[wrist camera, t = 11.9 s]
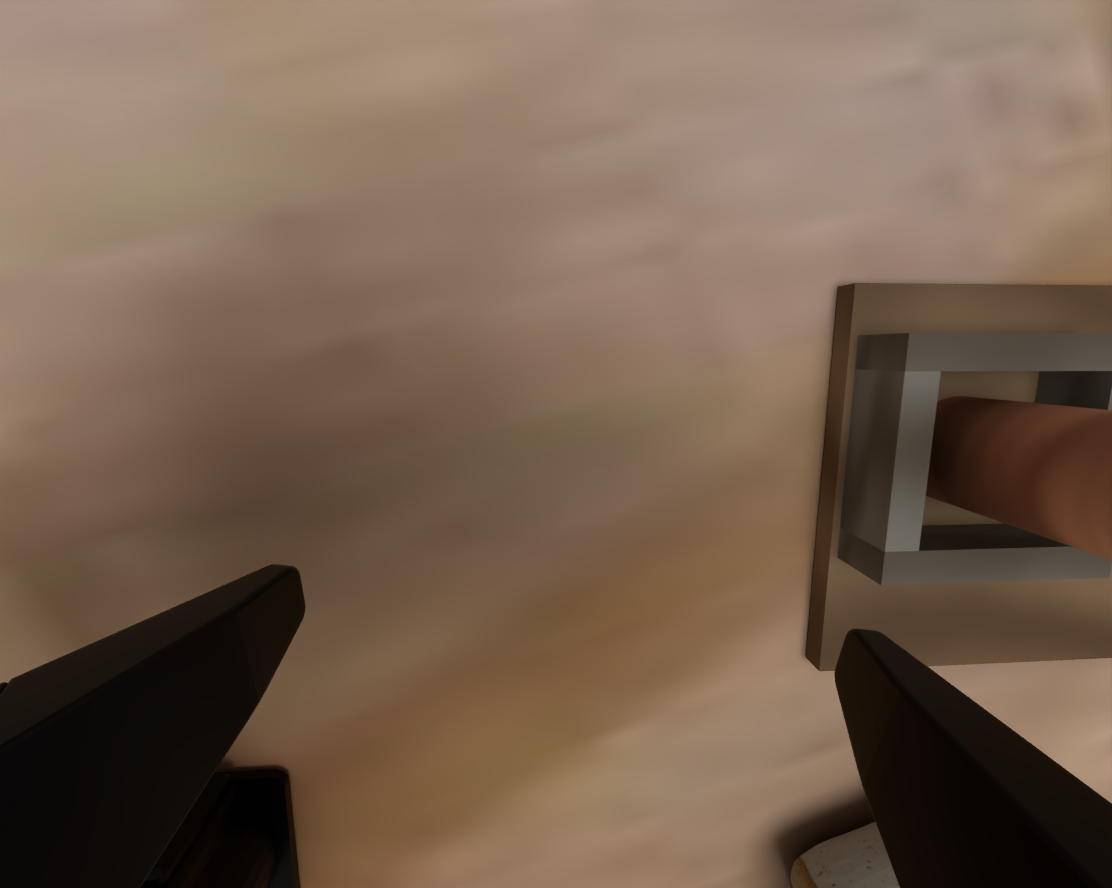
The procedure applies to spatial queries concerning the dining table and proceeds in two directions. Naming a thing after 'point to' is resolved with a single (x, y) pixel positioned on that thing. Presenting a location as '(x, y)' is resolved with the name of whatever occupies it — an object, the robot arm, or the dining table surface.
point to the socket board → (903, 464)
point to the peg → (1027, 467)
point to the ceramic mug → (846, 862)
